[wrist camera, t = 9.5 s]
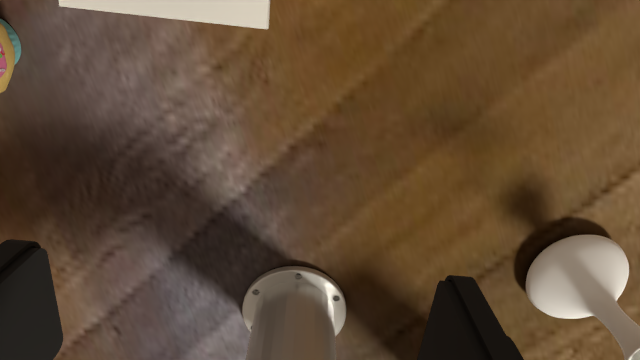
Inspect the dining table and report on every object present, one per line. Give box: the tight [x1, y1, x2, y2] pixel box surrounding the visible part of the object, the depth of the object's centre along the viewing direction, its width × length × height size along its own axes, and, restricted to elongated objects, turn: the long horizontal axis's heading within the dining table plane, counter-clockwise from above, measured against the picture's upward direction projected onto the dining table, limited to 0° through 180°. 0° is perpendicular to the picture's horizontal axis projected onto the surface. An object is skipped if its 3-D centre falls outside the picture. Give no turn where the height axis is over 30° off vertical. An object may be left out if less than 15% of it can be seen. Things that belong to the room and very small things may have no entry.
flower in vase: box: [526, 235, 640, 360], centre depth 38 cm, size 13×11×25 cm
